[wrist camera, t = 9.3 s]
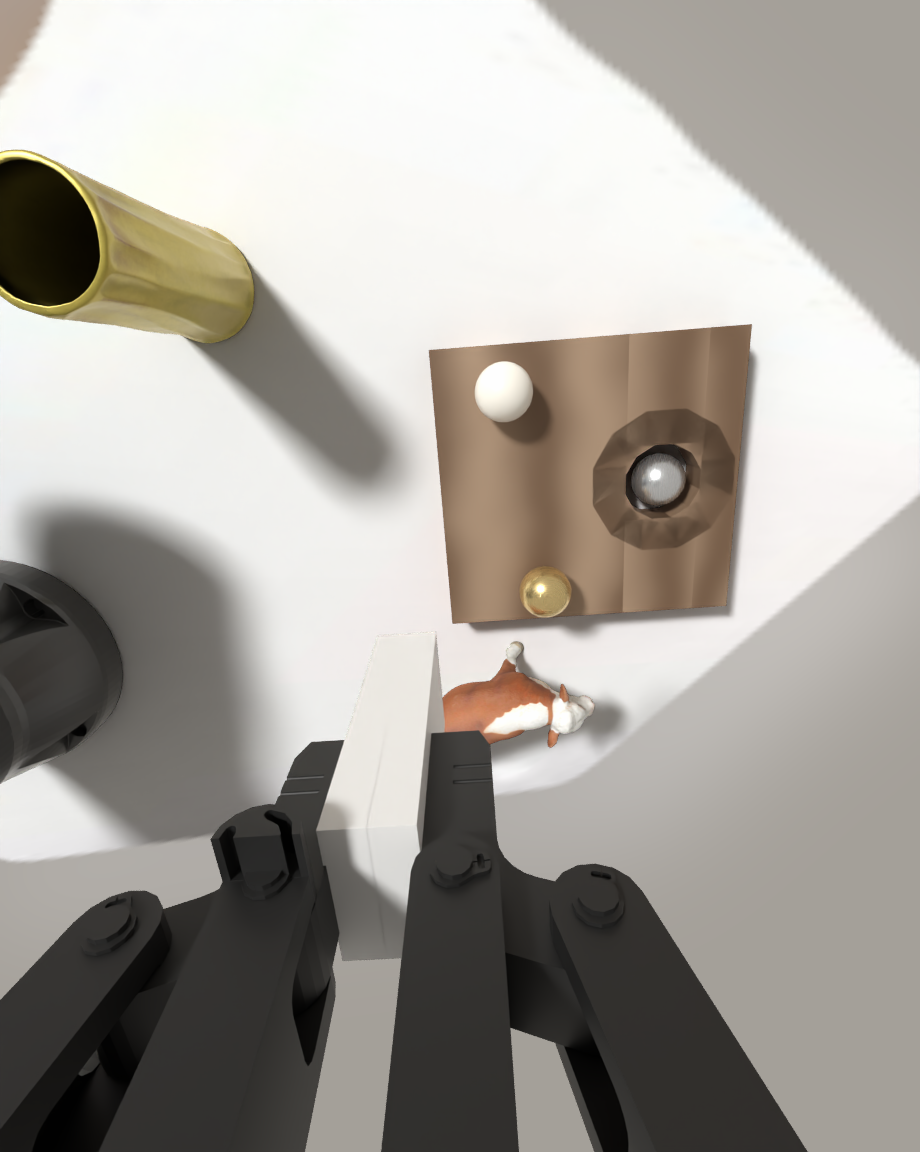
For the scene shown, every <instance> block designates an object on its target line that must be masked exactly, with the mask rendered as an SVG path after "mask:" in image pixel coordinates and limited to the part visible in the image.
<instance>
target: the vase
mask: <svg viewBox="0 0 920 1152" xmlns="http://www.w3.org/2000/svg"><path fill="white" fill-rule="evenodd" d="M0 296H1V297H3V298H4V299H5V300H7V301H8V302H9V303H11V304H13V305H14V306H16V307H18V308H20V309H23V310H26V311H29V312H33V313H36V314H39V315H42V316H45V317H48V318H55V319H62V320H74V321H82V322H90V323H98V324H109V325H116V326H122V327H128V328H132V329H137V330H142V331H148V332H157V333H164V334H178V335H181V336H184V337H186V338H188V339H191V340H194V341H197V342H201V343H215V342H219V341H223V340H225V339H228V338H230V337H232V336H234V335H235V334H236V333H237V332H239V331H240V330H241V328H242V327H243V326H244V325H245V323H246V322H247V320H248V318H249V316H250V314H251V311H252V308H253V302H254V284H253V278H252V275H251V271H250V269H249V267H248V264H247V262H246V260H245V259H244V257H243V255H242V254H241V252H240V251H239V250H238V249H237V247H236V246H235V245H234V244H233V243H232V242H231V241H229V240H228V239H227V238H226V237H224V236H223V235H221V234H219V233H218V232H216V231H213V230H211V229H208V228H205V227H200V226H198V225H196V224H193V223H190V222H188V221H185V220H182V219H179V218H177V217H174V216H171V215H169V214H166V213H164V212H162V211H159V210H157V209H155V208H153V207H151V206H149V205H146V204H144V203H142V202H140V201H138V200H135V199H133V198H131V197H129V196H127V195H125V194H123V193H121V192H119V191H117V190H115V189H113V188H110V187H108V186H106V185H103V184H101V183H99V182H97V181H95V180H93V179H91V178H89V177H87V176H85V175H82V174H81V173H79V172H77V171H74V170H72V169H70V168H68V167H66V166H64V165H62V164H61V163H58V162H56V161H54V160H51V159H49V158H47V157H45V156H43V155H40V154H37V153H35V152H31V151H26V150H7V151H2V152H0Z"/></svg>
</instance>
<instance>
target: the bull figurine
mask: <svg viewBox="0 0 920 1152" xmlns="http://www.w3.org/2000/svg"><path fill="white" fill-rule="evenodd" d="M522 650H523V645H522V643H520V642H517V641H516V642H513V643H511V645H510V647H509V648H507V649H506V656H507V659H506V660H504V662H503V665H502V667H501V669H500V670H499V672H498V673H497V674H496V676H495V677H494V678H493V679H492V680H490V681H485V682H473V683H467V684H463V685H460V686H458V687H455V688H454V689H452V690H451V691H449V692H448V693H447V694H446V695H445V696H444V697H443V698H442V699H443V709H444V720H445V729H444V732H458V731H475V730H479V731H480V732H481V734H482V735H483V736H484V738H485V739H486V740H487V742H488V743H489V744H492V743H495V742H497V741H500V740H505V739H510V738H513V737H516V736H518V735H520V734H521V733H523V732H524V731H525V730H534V729H538V728H540V727H543V726H546V725H551V728H550V731H549V733H548V747H550V748H551V747H553V746H554V745H555V744H556V742H557V739H558V735H559V733H560V732H561V733H563V734H568V733H573V732H575V731H576V730H578V729H579V728H580V727H581V725H582V723H583V721H584V720H585V718H586V717H589V716H591V715H592V713H593V710H594V707H595V704H594V703H593V702H592V699H591V698H590V697H588V696H584V695H582V696H580V697H575V696H571V695H568V693H567V691H566V688H565V686H564V685H563V684H561V687H560V693H559V692H556V691H554V690H552V689H551V688H550V687H549V686H548V685H547V684H546V683H544V682H542V681H540V680H537V679H534V678H531V677H527V676H526V675H525V674H523V673H519V672H516V669H515V668H516V666H517V664H516V660H515V659H516V658H517V656H518V655H519V654H520V653H521V652H522Z"/></svg>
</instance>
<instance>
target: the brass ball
mask: <svg viewBox="0 0 920 1152" xmlns="http://www.w3.org/2000/svg"><path fill="white" fill-rule="evenodd" d="M519 594H520V599H521V602H522V604H523V606H524V607H525V608H526V609H527V610H528V611H529V612H530V613H532V614H533V615H536V616H538V617H553V616H555V615H558V614H559V613H561V612H562V611H563V610H564V609H565V608H566V607H567V605H568V604H569V602H570V599H571V585H570V582H569V580H568V578H567V577H566V576H565V574H564V573H563V572H561V571H560V570H558V569H557V568H554V567H550V566H540V567H537V568H534V569H532V570H531V571H529V572H528V573H527V574H526V575H525V576H524V578H523V579H522V582H521V584H520V589H519Z"/></svg>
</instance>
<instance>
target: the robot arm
mask: <svg viewBox="0 0 920 1152" xmlns="http://www.w3.org/2000/svg"><path fill="white" fill-rule="evenodd" d="M121 687H122V664H121V659H120V655H119V651H118V648H117V645H116V643H115V641H114V638H113V636H112V634H111V632H110V631H109V629H108V627H107V626H106V624H105V623H104V621H103V620H102V618H101V617H100V616H99V614H98V613H97V612H96V611H95V610H94V608H93V607H92V606H91V605H90V604H89V603H88V602H87V601H86V600H85V599H84V598H83V597H81V596H80V595H79V594H78V593H77V592H75V591H74V590H73V589H71V588H70V587H69V586H67V585H66V584H64V583H63V582H61V581H59V580H58V579H56V578H54V577H52V576H50V575H49V574H47V573H44V572H42V571H40V570H37V569H35V568H32V567H29V566H26V565H23V564H19V563H15V562H9V561H3V560H0V784H1V783H2V782H4V781H7V780H9V779H11V778H13V777H15V776H17V775H20V774H22V773H24V772H26V771H28V770H30V769H33V768H35V767H37V766H39V765H41V764H43V763H45V762H48V761H50V760H52V759H54V758H56V757H58V756H61V755H63V754H65V753H67V752H69V751H71V750H72V749H74V748H76V747H77V746H78V745H80V744H81V743H82V742H84V741H85V740H86V739H87V738H88V737H89V736H90V735H91V734H92V733H94V732H95V731H96V730H97V729H98V728H99V727H100V726H101V725H102V724H103V723H104V722H105V720H106V719H107V718H108V717H109V716H110V714H111V713H112V711H113V710H114V708H115V706H116V704H117V702H118V699H119V696H120V692H121ZM444 729H445V720H444V709H443V699H442V689H441V679H440V669H439V659H438V648H437V638H436V632H423V633H408V634H392V635H377V638H376V641H375V645H374V648H373V651H372V654H371V657H370V661H369V664H368V667H367V670H366V673H365V676H364V680H363V683H362V686H361V689H360V692H359V696H358V699H357V702H356V705H355V708H354V712H353V715H352V718H351V721H350V724H349V727H348V731H347V734H346V737H345V740H338V741H322V742H311V743H310V744H309V745H308V746H307V747H306V748H305V749H304V750H303V751H302V752H301V753H300V754H299V755H298V756H297V757H296V758H295V759H294V762H293V764H292V766H291V769H290V771H289V773H288V776H287V781H285V783H284V785H283V787H282V790H281V795H280V796H279V797H278V799H277V802H276V804H275V805H273V804H268V805H262V806H257V807H252V808H250V809H248V810H245V811H243V812H241V813H239V814H236V815H235V816H233V817H232V818H231V819H229V820H228V821H227V822H225V823H224V824H223V825H221V826H220V828H219V829H218V830H217V831H216V833H215V834H214V835H213V837H212V838H211V842H212V846H213V849H214V853H215V856H216V860H217V863H218V867H219V870H220V874H221V877H222V881H223V883H222V885H221V887H220V889H218V890H216V891H215V892H212V893H210V894H207V895H205V896H202V897H200V898H197V899H194V900H190V901H188V902H184V903H181V904H178V905H175V906H172V907H169V908H166V909H163V907H162V905H161V903H160V901H159V899H158V897H157V896H156V895H153V894H151V893H149V892H147V891H128V892H125V893H121V894H118V895H115V896H112V897H109V898H108V899H106V900H104V901H102V902H100V903H99V904H97V905H95V906H93V907H92V908H90V909H89V910H88V911H86V912H85V913H84V914H83V915H82V916H81V917H80V918H78V919H77V920H76V921H75V922H74V923H73V924H72V925H71V926H70V927H69V928H68V929H67V930H66V931H65V932H64V933H63V934H62V935H61V936H60V937H59V939H58V940H57V941H56V942H55V943H54V944H53V945H52V946H51V947H50V948H49V949H48V950H47V951H46V952H45V953H44V955H42V957H41V958H40V959H39V960H38V961H37V962H36V963H35V964H34V965H33V966H32V967H31V968H30V969H29V970H28V971H27V973H25V975H24V976H23V977H22V978H21V979H20V980H19V981H18V982H17V983H16V984H15V985H14V986H13V987H12V988H11V989H10V990H9V992H8V993H7V994H6V995H5V996H4V997H3V998H2V999H1V1000H0V1152H305V1148H306V1143H307V1138H308V1133H309V1128H310V1123H311V1118H312V1113H313V1108H314V1103H315V1098H316V1092H317V1088H318V1083H319V1078H320V1072H321V1067H322V1062H323V1057H324V1052H325V1047H326V1042H327V1037H328V1032H329V1027H330V1022H331V1017H332V1012H333V1007H334V1001H335V978H334V973H333V968H332V966H333V961H334V956H335V952H336V947H337V942H338V941H339V945H340V950H341V955H342V960H343V961H352V960H374V959H394V958H402V960H401V969H400V979H399V988H398V998H397V1007H396V1018H395V1026H394V1036H393V1045H392V1055H391V1064H390V1074H389V1083H388V1093H387V1102H386V1112H385V1121H384V1131H383V1140H382V1150H381V1152H519V1147H518V1133H517V1117H516V1103H515V1089H514V1074H513V1060H512V1045H511V1031H510V1028H513V1029H516V1030H519V1031H522V1032H525V1033H528V1034H531V1035H534V1036H537V1037H540V1038H543V1039H545V1040H548V1041H552V1042H554V1043H556V1046H557V1049H558V1052H559V1055H560V1057H561V1060H562V1063H563V1066H564V1068H565V1071H566V1074H567V1077H568V1080H569V1082H570V1085H571V1088H572V1091H573V1093H574V1096H575V1099H576V1102H577V1105H578V1107H579V1110H580V1113H581V1116H582V1119H583V1121H584V1124H585V1127H586V1130H587V1133H588V1135H589V1138H590V1141H591V1144H592V1146H593V1149H594V1152H807V1150H806V1148H805V1147H804V1145H803V1144H802V1142H801V1141H800V1139H799V1137H798V1136H797V1134H796V1133H795V1131H794V1130H793V1128H792V1126H791V1125H790V1123H789V1122H788V1120H787V1118H786V1117H785V1116H784V1114H783V1112H782V1111H781V1109H780V1107H779V1106H778V1104H777V1103H776V1101H775V1100H774V1098H773V1096H772V1095H771V1093H770V1092H769V1090H768V1089H767V1087H766V1085H765V1084H764V1082H763V1081H762V1079H761V1078H760V1076H759V1074H758V1073H757V1071H756V1070H755V1068H754V1067H753V1065H752V1063H751V1062H750V1060H749V1059H748V1057H747V1055H746V1054H745V1052H744V1051H743V1049H742V1048H741V1046H740V1045H739V1043H738V1041H737V1040H736V1038H735V1037H734V1035H733V1033H732V1032H731V1030H730V1029H729V1027H728V1026H727V1024H726V1022H725V1021H724V1019H723V1018H722V1016H721V1014H720V1013H719V1011H718V1010H717V1008H716V1007H715V1005H714V1003H713V1002H712V1000H711V999H710V997H709V996H708V994H707V992H706V991H705V989H704V988H703V986H702V985H701V983H700V982H699V980H698V978H697V977H696V975H695V974H694V972H693V970H692V969H691V967H690V966H689V964H688V962H687V961H686V959H685V958H684V956H683V955H682V953H681V951H680V950H679V948H678V947H677V945H676V944H675V942H674V940H673V939H672V937H671V936H670V934H669V933H668V931H667V929H666V928H665V926H664V925H663V923H662V922H661V920H660V918H659V917H658V915H657V914H656V912H655V911H654V909H653V907H652V906H651V904H650V903H649V901H648V899H647V898H646V896H645V895H644V893H643V892H642V890H641V889H640V888H639V887H638V886H637V885H636V884H635V883H634V881H633V880H632V879H631V878H630V877H628V876H627V875H625V874H623V873H621V872H620V871H618V870H616V869H614V868H612V867H607V866H603V865H598V864H588V865H577V866H575V867H573V868H571V869H569V870H567V871H565V872H563V873H562V874H561V875H560V877H558V879H557V880H556V881H551V880H547V879H542V878H538V877H535V876H532V875H529V874H526V873H524V872H522V871H521V870H519V869H517V868H516V867H514V866H513V865H512V864H511V863H510V862H509V861H508V860H507V859H506V858H504V856H503V854H502V852H501V850H500V849H499V846H498V841H497V833H496V820H495V806H494V792H493V778H492V765H491V751H490V744H489V743H488V742H487V740H486V739H485V738H484V736H483V735H482V734H481V732H480V731H479V730H475V731H458V732H444Z"/></svg>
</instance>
